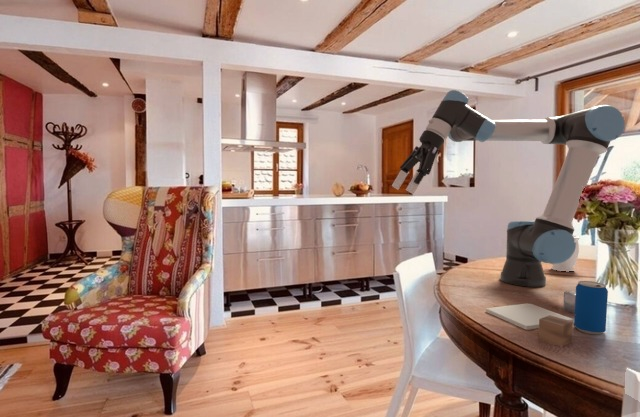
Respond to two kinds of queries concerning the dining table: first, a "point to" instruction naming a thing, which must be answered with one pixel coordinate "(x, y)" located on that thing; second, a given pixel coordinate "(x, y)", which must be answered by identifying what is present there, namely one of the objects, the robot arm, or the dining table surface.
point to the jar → (569, 263)
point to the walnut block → (555, 330)
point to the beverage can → (591, 307)
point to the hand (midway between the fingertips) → (401, 189)
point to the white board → (523, 315)
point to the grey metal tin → (569, 301)
